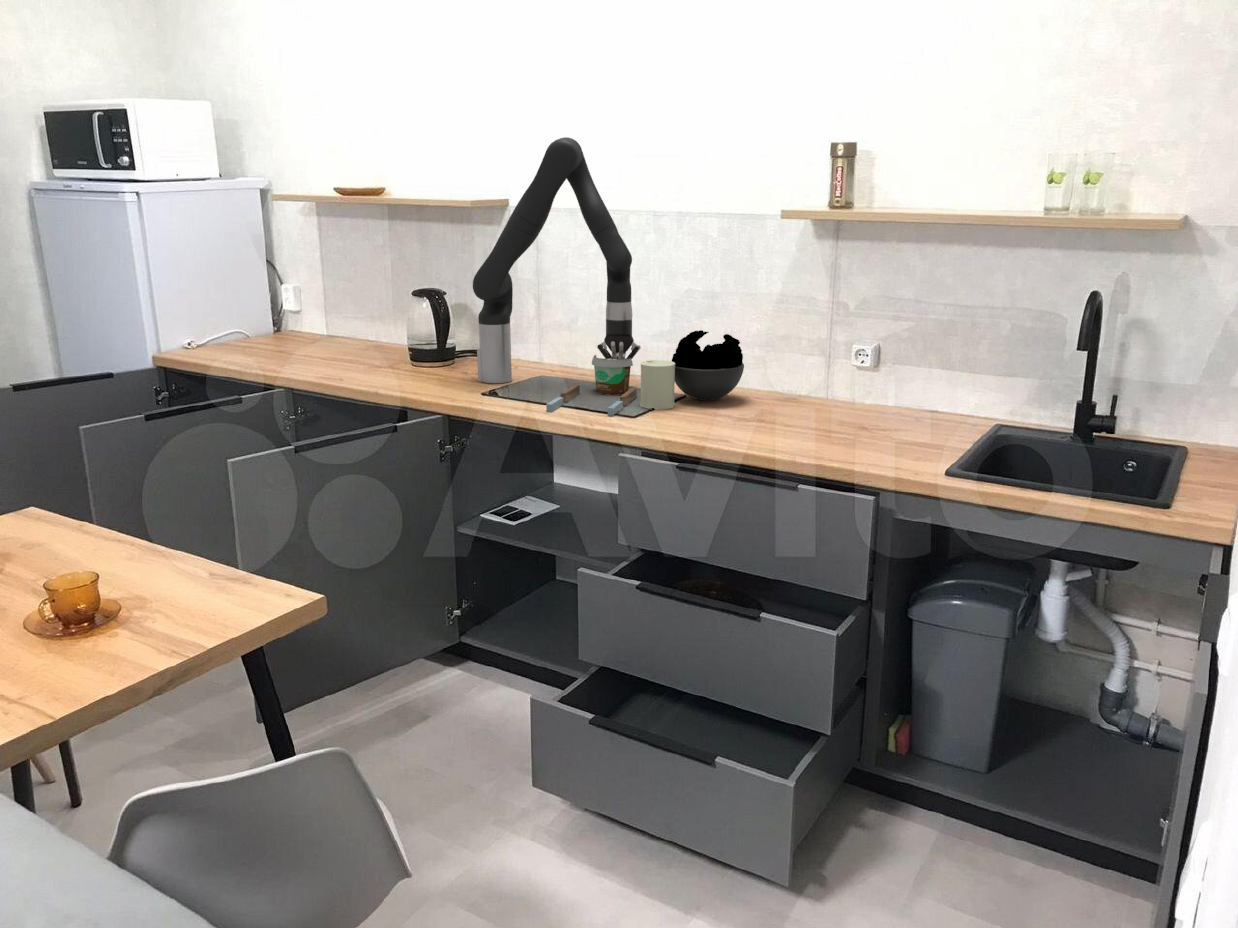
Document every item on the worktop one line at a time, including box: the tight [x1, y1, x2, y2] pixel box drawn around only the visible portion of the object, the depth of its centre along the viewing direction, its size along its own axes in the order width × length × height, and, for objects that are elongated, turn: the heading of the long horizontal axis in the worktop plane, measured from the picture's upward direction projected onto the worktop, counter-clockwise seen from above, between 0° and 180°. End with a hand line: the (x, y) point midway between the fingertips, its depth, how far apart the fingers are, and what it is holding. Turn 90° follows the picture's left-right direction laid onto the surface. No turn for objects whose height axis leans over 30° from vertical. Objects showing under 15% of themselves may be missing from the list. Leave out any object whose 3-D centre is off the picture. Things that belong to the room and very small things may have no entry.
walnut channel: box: [560, 384, 638, 407], centre depth 269 cm, size 18×12×2 cm, turn 75°
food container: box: [591, 354, 633, 396], centre depth 276 cm, size 12×6×10 cm, turn 62°
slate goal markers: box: [545, 396, 624, 417], centre depth 257 cm, size 18×9×2 cm, turn 75°
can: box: [639, 359, 676, 411], centre depth 260 cm, size 9×9×12 cm
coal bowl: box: [671, 330, 745, 401], centre depth 267 cm, size 20×20×19 cm
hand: (618, 377), depth 287 cm, fingers closed
